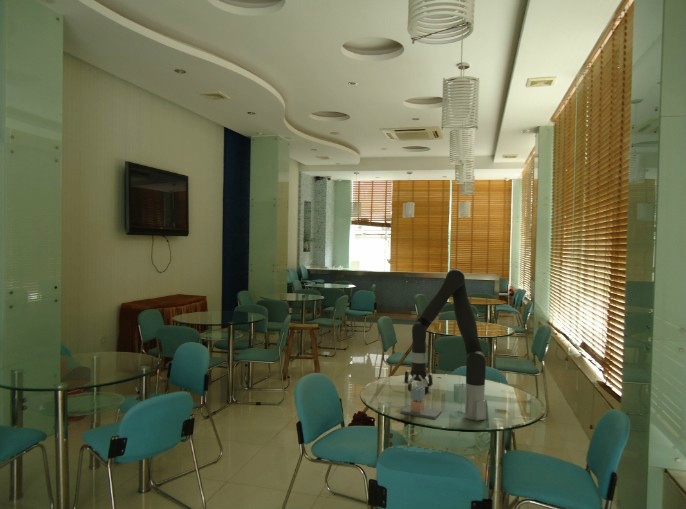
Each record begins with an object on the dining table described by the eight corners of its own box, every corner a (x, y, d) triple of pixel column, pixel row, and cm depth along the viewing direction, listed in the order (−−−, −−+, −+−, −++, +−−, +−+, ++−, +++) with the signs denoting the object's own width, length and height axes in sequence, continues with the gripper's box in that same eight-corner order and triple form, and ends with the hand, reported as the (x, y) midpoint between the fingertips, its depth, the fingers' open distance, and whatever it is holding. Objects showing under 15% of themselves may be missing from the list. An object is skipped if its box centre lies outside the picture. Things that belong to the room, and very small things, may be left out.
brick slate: (420, 401, 261) (420, 389, 261) (411, 399, 263) (411, 388, 263) (424, 398, 266) (424, 386, 266) (415, 396, 268) (415, 385, 268)
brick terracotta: (414, 407, 268) (415, 396, 268) (424, 409, 266) (424, 398, 266) (410, 410, 263) (411, 399, 263) (420, 412, 261) (420, 401, 261)
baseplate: (441, 413, 265) (441, 410, 265) (435, 419, 255) (435, 416, 255) (408, 407, 273) (408, 404, 273) (400, 413, 263) (400, 410, 263)
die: (434, 392, 304) (428, 376, 309) (432, 388, 297) (427, 372, 302) (420, 396, 305) (415, 381, 310) (419, 392, 297) (413, 377, 303)
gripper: (403, 360, 264) (402, 392, 264) (430, 364, 258) (429, 396, 258) (408, 357, 271) (407, 388, 271) (434, 361, 264) (434, 392, 265)
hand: (418, 392), depth 264 cm, fingers open, 8 cm apart
